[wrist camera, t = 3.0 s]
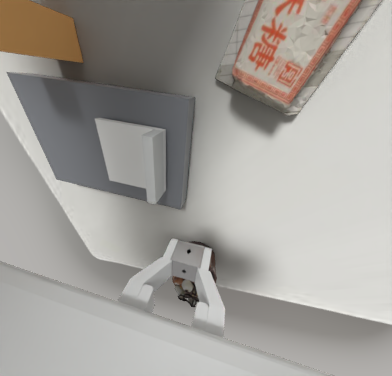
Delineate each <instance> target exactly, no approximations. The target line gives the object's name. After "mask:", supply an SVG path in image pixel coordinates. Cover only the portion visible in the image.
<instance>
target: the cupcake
mask: <svg viewBox="0 0 392 376" xmlns="http://www.w3.org/2000/svg"><path fill="white" fill-rule="evenodd" d="M188 243H192V244H196V245H200V246H204V247H207V248H210V247H209V246H206V245H205V244H203V243H201V242H195V241H193V242H188ZM208 271H210V272H211V274H212V277H213V279H214V282H215V283H216V279H217V277H216V269H215V254H214V252H213V250H212V252H211V258H210V264H209V270H208ZM172 280H173V283H174V285H175V290H176V292H177V293H178V295H179V296H178V298H179V299H180V300H183V301H187V302H188V303H189V304H190V305H191V307H195V305H196V304H197V303H198V302H199V298H198V294H197V290H196V286H195V282H192V281H189V280H186V279H183V278H180V277H176V276H173V277H172ZM185 298H188V300H189V301H188V300H186V299H185Z"/></svg>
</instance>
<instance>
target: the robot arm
mask: <svg viewBox="0 0 392 376" xmlns="http://www.w3.org/2000/svg"><path fill="white" fill-rule="evenodd" d="M211 252H212V249H211V248H207V247H204V246H200V245H196V244H192V243H188V242H185V241H181V240H178V239H174V238H172V239H171V240H170V242H169V244H168V247H167V249H166V251H165V253H164V255H163V258H162V257H160V258H159V259H157V260H156V261H154V262H153V263H152V264H150V265H149V266H147V267H146V268H144V269H143V270H142V271H140V272H139V273H138V274H136V275H135V276H133V277H132V278H130V280H129V282H128V284H127V285H126V287H125V289H124V290H123V292H122V294H121V296H120V297H119V299H118V301H115V300H112V299H109V298H106V297H103V296H100V295H97V294H94V293H92V292H88V291H85V290H83V289H80V288H77V287H74V286H71V285H68V284H65V283H62V282H59V281H57V280H54V279H50V278H48V277H45V276H42V275H38V274H36V273H33V272H30V271H27V270H24V269H21V268H18V267H15V266H12V265H10V264H7V263H4V262H1V261H0V376H334V375H331V374H328V373H325V372H322V371H319V370H316V369H313V368H310V367H308V366H305V365H302V364H299V363H296V362H293V361H290V360H287V359H284V358H281V357H278V356H275V355H273V354H269V353H267V352H264V351H261V350H258V349H255V348H252V347H249V346H246V345H243V344H240V343H238V342H234V341H232V340H228V339H226V338H223V334H224V319H225V307H224V305H223V302H222V300H221V297H220V295H219V292H218V290H217V287H216V284H215V282H214V279H213V277H212V274H211V272H210V271H208V270H209V264H210V258H211ZM171 275H172V276H176V277H180V278H183V279H186V280H189V281H192V282H195V286H196V290H197V294H198V298H199V302H198V303H197V306H196V310H195V313H194V317H193V321H192V326H188V325H185V324H181V323H179V322H176V321H173V320H170V319H167V318H164V317H162V316H159V315H156V314H153V313H152V311H153V309H154V306H155V304H154V292H155V291H156V290H157V289H158V288H159V287H160V286H161V285H162V284H164V283H165V282H166V281H167V280H168V279H169V278H170V277H171Z"/></svg>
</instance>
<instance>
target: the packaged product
mask: <svg viewBox="0 0 392 376" xmlns="http://www.w3.org/2000/svg"><path fill="white" fill-rule="evenodd" d="M381 1H382V0H245V3H244V5H243V7H242V9H241V12H240V14H239V17H238V20H237V23H236V25H235V28H234V31H233V34H232V36H231V39H230V41H229V44H228V46H227V49H226V51H225V54H224V57H223V60H222V62H221V64H220V67H219V69H218V72H217V75H216V77H215V79H217V80H219V81H220V82H222V83H224V84H226V85H228V86H230V87H232V88H233V89H235V90H237V91H239V92H241V93H243V94H245V95H247V96H249V97H251V98H253V99H256V100H258V101H260V102H262V103H264V104H266V105H268V106H270V107H272V108H274V109H276V110H278V111H280V112H282V113H283V114H285V115H287V116H290V115H295V114H298V113H299V112H300V110H301V109H302V107H303V106H304V104H305V103H306V102H307V101H308V99H309V98H310V96H311V95H312V94H313V92H314V91H315V90H316V89H317V87H318V86H319V84H320V83H321V82H322V80H323V79H324V77H325V76H326V75H327V73H328V72H329V71H330V69H331V68H332V67H333V65H334V64H335V63H336V61H337V60H338V58H339V57H340V56H341V55H342V54H343V52H344V51H345V49H346V48H347V46H348V45H349V44H350V43H351V41H352V40H353V38H354V37H355V36H356V34H357V33H358V32H359V31H360V29H361V28H362V27H363V26H364V24H365V23H366V22H367V20H368V19H369V18H370V16H371V15H372V13H373V12H374V10H375V9H376V7H377V6H378V5H379V3H380V2H381Z"/></svg>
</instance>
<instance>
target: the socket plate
mask: <svg viewBox="0 0 392 376" xmlns="http://www.w3.org/2000/svg"><path fill="white" fill-rule="evenodd" d="M7 74H8V76H9V78H10V81H11V83H12V85H13V87H14V89H15V91H16V93H17V96H18V98H19V100H20V102H21V104H22V106H23V108H24V111H25V113H26V115H27V117H28V119H29V121H30V123H31V126H32V128H33V130H34V132H35V134H36V136H37V138H38V141H39V143H40V145H41V147H42V149H43V151H44V153H45V155H46V158H47V160H48V162H49V164H50V166H51V168H52V170H53V173H54V175H55V177H56V179H57V180H61V181H65V182H70V183H74V184H78V185H82V186H86V187H90V188H94V189H99V190H103V191H107V192H111V193H115V194H119V195H123V196H128V197H132V198H136V199H140V200H144V201H147V192H146V189H145V188H141V187H136V186H132V185H128V184H123V183H119V182H115V181H110V180H109V176H108V172H107V168H106V163H105V159H104V155H103V151H102V147H101V143H100V139H99V135H98V131H97V126H96V122H95V118H104V119H110V120H116V121H121V122H127V123H133V124H138V125H144V126H150V127H156V128H161V129H166V191H165V192H164V193H163V195H162V196H161V198H160V199H159V201H158V202H157V204H161V205H165V206H169V207H173V208H177V209H181V208H182V206H183V204H184V202H185V200H186V193H187V182H188V171H189V160H190V149H191V138H192V127H193V116H194V105H195V97H190V96H183V95H176V94H169V93H162V92H155V91H148V90H141V89H135V88H128V87H121V86H114V85H107V84H100V83H93V82H86V81H79V80H72V79H65V78H58V77H52V76H45V75H38V74H29V73H12V72H7Z"/></svg>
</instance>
